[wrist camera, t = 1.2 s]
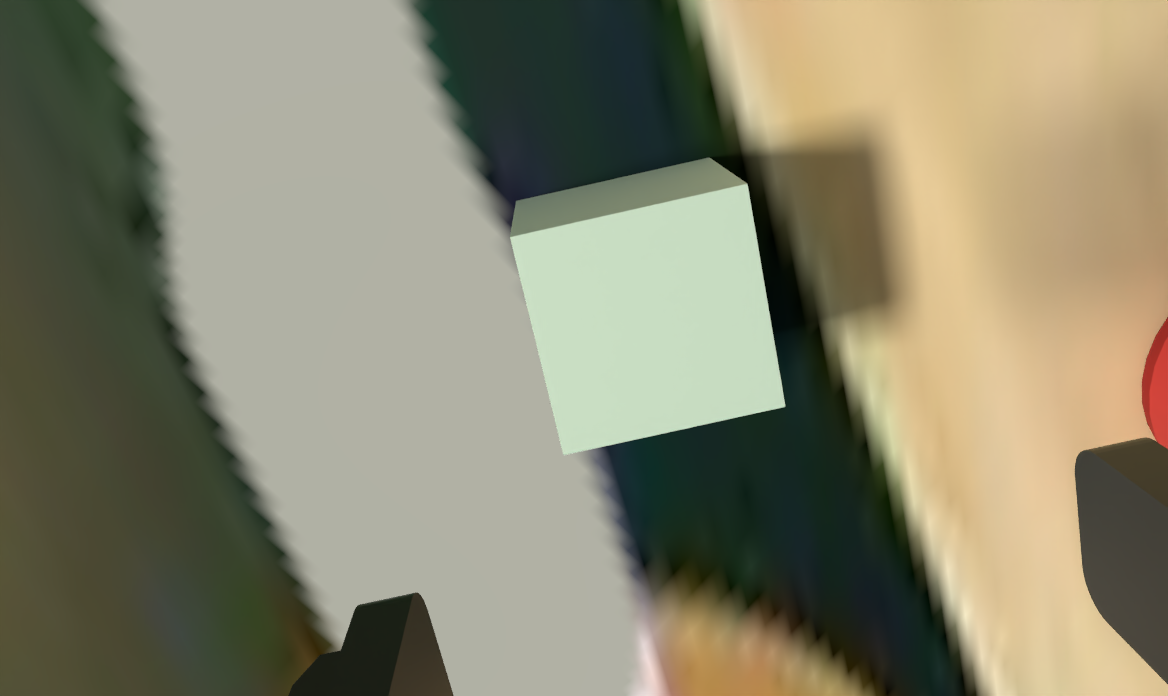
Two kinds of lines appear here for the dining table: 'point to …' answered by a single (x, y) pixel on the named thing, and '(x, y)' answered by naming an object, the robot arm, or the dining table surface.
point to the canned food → (1157, 387)
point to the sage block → (647, 304)
